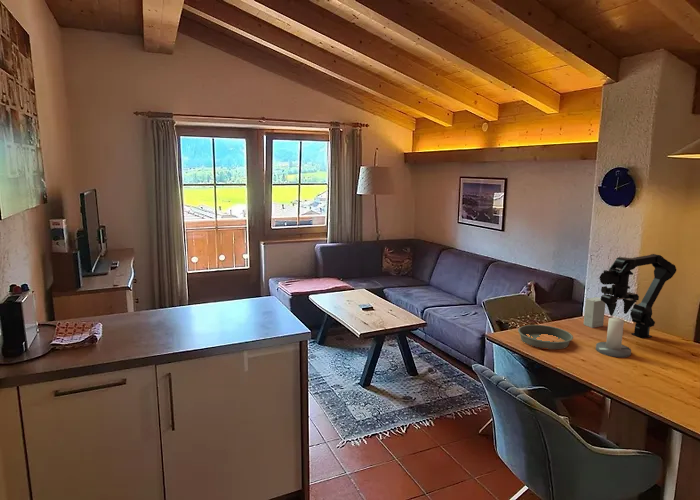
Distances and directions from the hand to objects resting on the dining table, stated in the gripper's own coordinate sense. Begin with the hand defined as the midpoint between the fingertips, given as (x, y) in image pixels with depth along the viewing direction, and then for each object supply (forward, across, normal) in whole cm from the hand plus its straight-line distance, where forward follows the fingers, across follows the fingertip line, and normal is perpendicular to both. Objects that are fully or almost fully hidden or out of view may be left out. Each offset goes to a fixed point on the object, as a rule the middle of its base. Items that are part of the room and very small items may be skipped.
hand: (618, 314), depth 226 cm
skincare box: (+12, -5, -18) cm, 22 cm away
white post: (+10, +17, +13) cm, 23 cm away
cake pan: (+12, +37, -8) cm, 40 cm away
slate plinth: (+12, +17, +13) cm, 25 cm away
